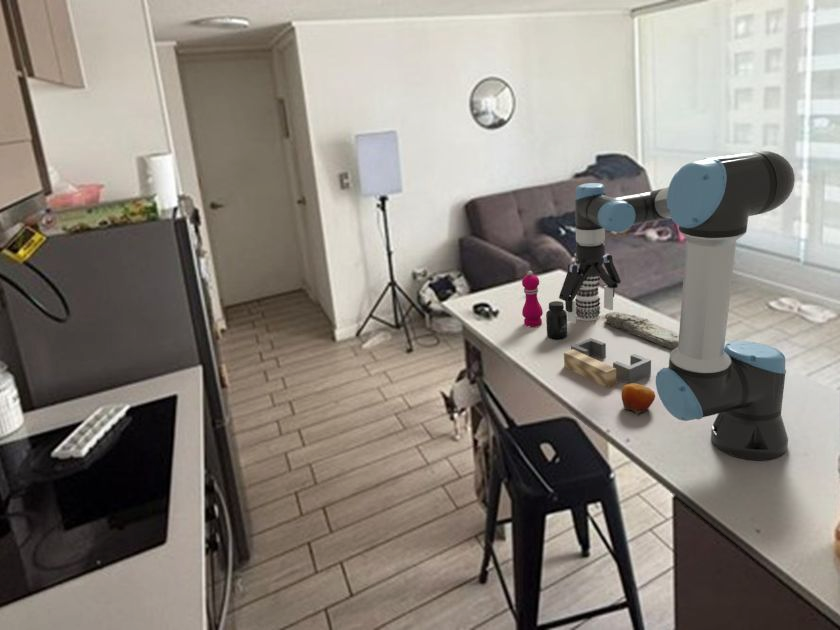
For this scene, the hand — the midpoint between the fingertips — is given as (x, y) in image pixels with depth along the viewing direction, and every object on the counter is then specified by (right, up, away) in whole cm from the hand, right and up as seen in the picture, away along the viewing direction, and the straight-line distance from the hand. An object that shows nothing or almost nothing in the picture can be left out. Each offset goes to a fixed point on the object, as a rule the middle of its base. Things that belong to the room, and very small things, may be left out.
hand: (590, 315), depth 170 cm
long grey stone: (+26, -7, +29) cm, 39 cm away
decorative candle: (+13, -1, +48) cm, 50 cm away
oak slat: (+1, -18, +6) cm, 19 cm away
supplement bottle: (-1, -7, +35) cm, 36 cm away
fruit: (+8, -24, -15) cm, 29 cm away
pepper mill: (-7, -3, +48) cm, 49 cm away
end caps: (+8, -15, +9) cm, 19 cm away
